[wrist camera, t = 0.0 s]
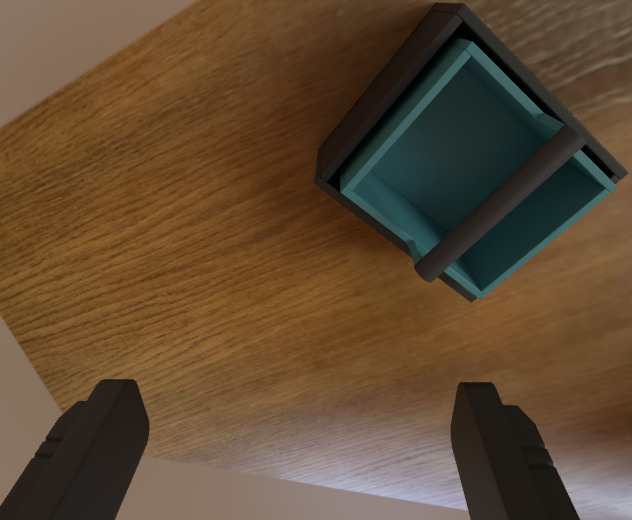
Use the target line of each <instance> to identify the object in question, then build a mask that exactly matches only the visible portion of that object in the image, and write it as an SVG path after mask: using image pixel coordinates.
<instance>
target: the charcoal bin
mask: <svg viewBox="0 0 632 520" xmlns="http://www.w3.org/2000/svg"><path fill="white" fill-rule="evenodd" d="M451 35H452V36H455V37H459V38H462V39H465V40H469V41H472V42H474V43H475V44H476V45H477V46H478V47H479V48H480V49H481V50H482V51H483V52H484V53H485V54H486V55H487V56H488V57H489V58H490V59H491V60H492V61H493V62H494V63H495V64H496V65H497V66H498V67H499V68H500V69H501V71H502V72H503V73H504V74H505V75H506V76H507V77H508V78H509V79H510V80H511V81H512V82H513V83H514V84H515V85H516V86H517V87H518V88H519V89H520V90H521V91H522V92H523V93H524V94H525V95H526V96H527V97H528V98H529V99H530V100H531V101H532V102H533V103H534V104H535V105H536V106H537V107H538V108H539V109H540V110H541V111H542V112H543V113H545V114H547V115H549V116H550V117H552V118H554V119H556V120H558V121H560V122H562V123H563V124H565V125H568V126H570V127H571V128H572V129H574V130H575V131H576V132H577V133H578V134H580V135H581V136H582V137H583V138H584V140H585V141H586V144H585V145H584V146H583V147H582V148H581V149H580V150H581V151H582V152H583V153H584V154H585V155H586V156H587V157H588V158H589V159H590V160H591V161H592V162H593V163H594V164H595V165H596V166H597V167H598V168H599V169H600V170H601V171H602V172H603V173H604V174H605V175H606V176H607V177H608V178H609V179H610V180H611V181H612V182H613V183H614V184H616V183H617V182H618V181H619V179H622V178H623V177H624V176H626V175H627V174H628V172H627V171H626V170H625V169H624V168H623V166H622V165H621V164H620V163H619V162H618V161H617V160H616V159H615V158H614V157H613V156H612V155H611V154H610V153H609V152H608V151H607V150H606V149H605V148H604V147H603V146H602V145H601V144H600V143H599V142H598V141H597V140H596V139H595V138H594V137H593V136H592V135H591V134H590V132H589V131H588V130H587V129H586V128H585V127H584V126H583V125H582V124H581V123H580V122H579V121H578V120H577V119H576V118H575V117H574V116H573V115H572V114H571V113H570V112H569V111H568V110H567V109H566V108H565V107H564V106H563V105H562V104H561V103H560V102H559V101H558V99H557V98H556V97H555V96H554V95H553V94H552V93H551V92H550V91H549V90H548V89H547V88H546V87H545V86H544V85H543V84H542V83H541V82H540V81H539V80H538V79H537V78H536V77H535V76H534V75H533V74H532V73H531V72H530V71H529V70H528V69H527V68H526V67H525V65H524V64H523V63H522V62H521V61H520V60H519V59H518V58H517V57H516V56H515V55H514V54H513V53H512V52H511V51H510V50H509V49H508V48H507V47H506V46H505V45H504V44H503V43H502V42H501V41H500V40H499V39H498V38H497V37H496V36H495V35H494V34H493V32H492V31H491V30H490V29H489V28H488V27H487V26H486V25H485V24H484V23H483V22H482V21H481V20H480V19H479V18H478V17H477V16H476V15H475V14H474V13H473V12H472V11H471V10H470V9H469V8H468V7H467V6H466V5H465V4H461V3H436V4H435V5H434V6H433V7H432V9H431V10H430V11H429V12H428V14H427V15H426V16H425V17H424V19H423V20H422V21H421V22H420V24H419V25H418V26H417V27H416V29H415V30H414V31H413V32H412V34H411V35H410V36H409V37H408V38H407V40H406V41H405V42H404V43H403V45H402V46H401V47H400V48H399V50H398V51H397V52H396V53H395V55H394V56H393V57H392V58H391V60H390V61H389V62H388V63H387V65H386V66H385V67H384V68H383V70H382V71H381V72H380V73H379V75H378V76H377V77H376V78H375V80H374V81H373V82H372V83H371V85H370V86H369V87H368V88H367V90H366V91H365V92H364V93H363V95H362V96H361V97H360V98H359V100H358V101H357V102H356V103H355V105H354V106H353V107H352V108H351V110H350V111H349V112H348V113H347V115H346V116H345V117H344V118H343V120H342V121H341V122H340V123H339V125H338V126H337V127H336V128H335V129H334V131H333V132H332V133H331V134H330V136H329V137H328V138H327V139H326V141H325V142H324V143H323V144H322V146H321V147H320V148H319V149H318V156H317V164H316V173H315V181H314V184H315V185H317V186H318V187H319V188H321V189H322V190H323V191H325V192H326V193H327V194H329V195H330V196H331V197H333V198H334V199H335V200H337V201H338V202H339V203H341V204H342V205H343V206H344V207H346V208H347V209H348V210H350V211H351V212H352V213H354V214H355V215H356V216H358V217H359V218H360V219H362V220H363V221H364V222H366V223H367V224H368V225H370V226H371V227H372V228H374V229H375V230H376V231H377V232H379V233H380V234H381V235H383V236H384V237H385V238H387V239H388V240H389V241H391V242H392V243H393V244H395V245H396V246H397V247H399V248H400V249H401V250H403V251H404V252H405V253H406V254H408V255H409V256H410V257H412V255H411V252H410V248H409V245H408V244H407V243H406V242H404V241H403V240H402V239H401V238H399V237H398V236H397V235H395V234H394V233H393V232H391V231H390V230H389V229H388V228H386V227H385V226H384V225H382V224H381V223H380V222H378V221H377V220H376V219H375V218H373V217H372V216H371V215H369V214H368V213H367V212H365V211H364V210H363V209H361V208H360V207H359V206H358V205H356V204H355V203H354V202H352V201H351V200H350V199H348V198H347V197H346V196H345V195H343V194H342V193H341V192H340V166H341V165H342V163H343V162H344V161H345V160H346V159H347V158H348V156H349V155H350V154H351V153H352V152H353V150H354V149H355V148H356V147H357V146H358V145H359V143H360V142H361V141H362V140H363V139H364V137H365V136H366V135H367V134H368V133H369V131H370V130H371V129H372V128H373V127H374V126H375V124H376V123H377V122H378V121H379V120H380V118H381V117H382V116H383V115H384V114H385V113H386V111H387V110H388V109H389V108H390V107H391V105H392V104H393V103H394V102H395V101H396V100H397V98H398V97H399V96H400V95H401V94H402V92H403V91H404V90H405V89H406V88H407V87H408V85H409V84H410V83H411V82H412V81H413V79H414V78H415V77H416V76H417V75H418V74H419V72H420V71H421V70H422V69H423V68H424V66H425V65H426V64H427V63H428V62H429V61H430V59H431V58H432V57H433V56H434V55H435V53H436V52H437V51H438V50H439V49H440V48H441V46H442V45H443V44H444V43H445V42H446V40H447V39H448V38H449V37H450V36H451ZM438 278H439V279H441V280H442V281H443V282H445V283H446V284H447V285H449V286H450V287H451V288H453V289H454V290H455V291H457V292H458V293H459V294H461V295H462V296H463V297H465V298H466V299H467V300H468V301H470V302H471V303H472V302H473V301H474V300H475V299H477V297H476V296H475V295H474V294H472V293H471V292H470V291H468V290H467V289H466V288H464V287H463V286H462V285H461V284H459V283H458V282H457V281H455V280H454V279H453V278H451V277H450V276H449V275H448V274H446V273H445V272H444V271H443V272H442V273H441V274H440V275H439V276H438Z"/></svg>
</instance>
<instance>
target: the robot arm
mask: <svg viewBox="0 0 632 520" xmlns="http://www.w3.org/2000/svg"><path fill="white" fill-rule="evenodd" d="M148 437H149V419H148V416H147V413H146V410H145V407H144V404H143V401H142V397H141V394H140V391H139V388H138V385H137V383H136V381H135V380H133V379H103V380H101V381H100V382H99V383H98V384H97V385H96V387H95V388H94V390H93V392H92V393H91V395H90V396H89V398H88V400H87V401H78V402H77V403H75V404H74V405H73V406H72V407H71V408H70V409H69V410H67V411H66V412H65V413H64V414H63V415H62V416H61V417H59V419H58V420H57V422H56V423H55V425H54V426H53V428H52V429H51V431H50V432H49V434H48V435H47V437H46V441H45V442H43V443H42V444H41V446H40V447H39V449H38V450H37V452H36V453H35V457H34V458H32V459H31V461H30V462H29V464H28V465H27V467H26V468H25V470H24V471H23V473H22V474H21V476H20V477H19V479H18V480H17V482H16V483H15V485H14V486H13V488H12V489H11V491H10V492H9V494H8V495H7V497H6V498H5V500H4V501H3V503H2V505H1V506H0V520H115V518H116V516H117V513H118V511H119V508H120V506H121V504H122V501H123V499H124V496H125V494H126V492H127V490H128V487H129V485H130V483H131V480H132V478H133V476H134V473H135V471H136V468H137V466H138V464H139V461H140V459H141V457H142V454H143V452H144V450H145V447H146V445H147V441H148ZM451 442H452V449H453V453H454V457H455V461H456V464H457V468H458V472H459V476H460V480H461V484H462V487H463V491H464V495H465V499H466V503H467V507H468V510H469V514H470V518H471V520H580V519H579V516H578V514H577V512H576V510H575V508H574V506H573V504H572V502H571V499H570V497H569V495H568V493H567V491H566V489H565V487H564V485H563V482H562V480H561V478H560V476H559V474H558V472H557V470H556V468H555V467H554V466H553V461H552V459H551V457H550V455H549V453H548V451H547V449H545V444H544V442H543V440H542V438H541V436H540V434H539V432H538V429H537V427H536V425H535V423H534V422H533V421H532V420H531V419H530V418H529V417H528V416H527V415H526V414H525V413H524V412H523V411H522V410H521V409H520V408H519V407H518V406H517V405H503V404H502V402H501V399H500V397H499V395H498V392H497V390H496V388H495V386H494V384H493V383H491V382H460V383H459V384H458V388H457V393H456V399H455V405H454V410H453V416H452V421H451Z"/></svg>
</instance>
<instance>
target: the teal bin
mask: <svg viewBox="0 0 632 520" xmlns="http://www.w3.org/2000/svg"><path fill="white" fill-rule="evenodd" d="M585 144H586V141H585V140H584V138H583V137H582V136H581V135H580V134H578V133H577V132H576V131H575V130H574V129H572V128H571V127H570V126H568V125H565V124H563V123H562V122H560V121H558V120H556V119H554V118H552V117H550V116H549V115H547V114H545V113H543V112H542V111H541V110H540V109H539V108H538V107H537V106H536V105H535V104H534V103H533V102H532V101H531V100H530V99H529V98H528V97H527V96H526V95H525V94H524V93H523V92H522V91H521V90H520V89H519V88H518V87H517V86H516V85H515V84H514V83H513V82H512V81H511V80H510V79H509V78H508V77H507V76H506V75H505V74H504V73H503V72H502V71H501V69H500V68H499V67H498V66H497V65H496V64H495V63H494V62H493V61H492V60H491V59H490V58H489V57H488V56H487V55H486V54H485V53H484V52H483V51H482V50H481V49H480V48H479V47H478V46H477V45H476V44H475V43H474V42H472V41H469V40H465V39H462V38H459V37H455V36H452V35H451V36H450V37H449V38H448V39H447V40H446V42H445V43H444V44H443V45H442V46H441V48H440V49H439V50H438V51H437V52H436V53H435V55H434V56H433V57H432V58H431V59H430V61H429V62H428V63H427V64H426V65H425V66H424V68H423V69H422V70H421V71H420V72H419V74H418V75H417V76H416V77H415V78H414V79H413V81H412V82H411V83H410V84H409V85H408V87H407V88H406V89H405V90H404V91H403V92H402V94H401V95H400V96H399V97H398V98H397V100H396V101H395V102H394V103H393V104H392V105H391V107H390V108H389V109H388V110H387V111H386V113H385V114H384V115H383V116H382V117H381V118H380V120H379V121H378V122H377V123H376V124H375V126H374V127H373V128H372V129H371V130H370V131H369V133H368V134H367V135H366V136H365V137H364V139H363V140H362V141H361V142H360V143H359V145H358V146H357V147H356V148H355V149H354V150H353V152H352V153H351V154H350V155H349V156H348V158H347V159H346V160H345V161H344V162H343V163H342V165H341V166H340V192H341V193H342V194H343V195H345V196H346V197H347V198H348V199H350V200H351V201H352V202H354V203H355V204H356V205H358V206H359V207H360V208H361V209H363V210H364V211H365V212H367V213H368V214H369V215H371V216H372V217H373V218H375V219H376V220H377V221H378V222H380V223H381V224H382V225H384V226H385V227H386V228H388V229H389V230H390V231H391V232H393V233H394V234H395V235H397V236H398V237H399V238H401V239H402V240H403V241H404V242H406V243H407V244H408V245H409V248H410V252H411V255H412V258H413V262H414V268H415V270H416V272H417V273H418V274H419V275H420V277H422V278H423V279H424V280H425V281H427V282H429V283H430V282H432V281H433V280H434V279H435V278H437V277H438V276H439V275H440V274H441V273H442V272H443V271H444V272H445V273H446V274H448V275H449V276H450V277H451V278H453V279H454V280H455V281H457V282H458V283H459V284H461V285H462V286H463V287H464V288H466V289H467V290H468V291H470V292H471V293H472V294H474V295H475V296H476V297H477V298H479V299H482V298H483V297H484V296H485V295H487V294H488V293H489V292H490V291H492V290H493V289H494V288H495V287H496V286H498V285H499V284H500V283H501V282H503V281H504V280H505V279H506V278H507V277H509V276H510V275H511V274H512V273H514V272H515V271H516V270H517V269H518V268H520V267H521V266H522V265H523V264H525V263H526V262H527V261H528V260H529V259H531V258H532V257H533V256H534V255H536V254H537V253H538V252H539V251H540V250H542V249H543V248H544V247H545V246H547V245H548V244H549V243H550V242H551V241H553V240H554V239H555V238H556V237H558V236H559V235H560V234H561V233H562V232H564V231H565V230H566V229H567V228H569V227H570V226H571V225H572V224H573V223H575V222H576V221H577V220H578V219H580V218H581V217H582V216H583V215H584V214H586V213H587V212H588V211H589V210H591V209H592V208H593V207H594V206H595V205H597V204H598V203H599V202H600V201H602V200H603V199H604V198H605V197H606V196H608V195H609V194H610V193H611V192H612V191H614V190H615V189H616V188H617V186H616V185H615V184H614V183H613V182H612V181H611V180H610V179H609V178H608V177H607V176H606V175H605V174H604V173H603V172H602V171H601V170H600V169H599V168H598V167H597V166H596V165H595V164H594V163H593V162H592V161H591V160H590V159H589V158H588V157H587V156H586V155H585V154H584V153H583V152H582V151H581V150H580V149H581V148H582V147H583V146H584V145H585Z"/></svg>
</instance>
